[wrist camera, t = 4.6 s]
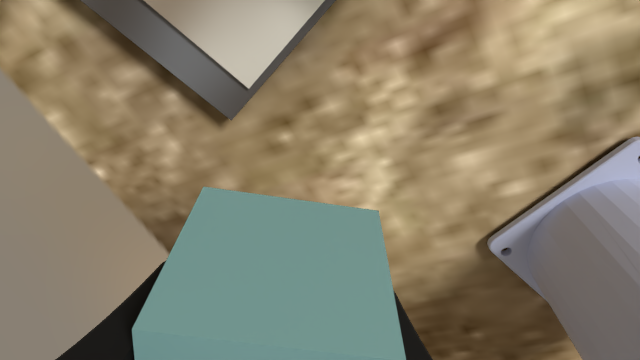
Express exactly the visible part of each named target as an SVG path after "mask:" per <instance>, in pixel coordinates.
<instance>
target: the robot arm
mask: <svg viewBox="0 0 640 360" xmlns="http://www.w3.org/2000/svg"><path fill="white" fill-rule="evenodd" d="M639 156H640V137H633V138H631V139H629V140H627V141H626V142H624V143H623V144H621V145H620V146H619V147H617V148H616V149H614V150H613V151H611V152H610V153H609V154H607V155H606V156H604V157H603V158H602V159H600V160H599V161H597V162H596V163H594V164H593V165H592V166H590V167H589V168H587V169H586V170H585V171H583V172H582V173H580V174H579V175H577V176H576V177H575V178H573V179H572V180H570V181H569V182H568V183H566V184H565V185H563V186H562V187H560V188H559V189H558V190H556V191H555V192H553V193H552V194H551V195H549V196H548V197H546V198H545V199H544V200H542V201H541V202H539V203H538V204H536V205H535V206H534V207H532V208H531V209H529V210H528V211H527V212H525V213H524V214H522V215H521V216H519V217H518V218H517V219H515V220H514V221H512V222H511V223H510V224H508V225H507V226H505V227H504V228H502V229H501V230H500V231H498V232H497V233H495V234H494V235H493V236H491V237H490V238H489V239H488V242H487V245H488V247H489V249H490V251H491V252H492V253H493V254H494V255H496V256H497V257H498V258H499V259H500V260H501V261H502V262H503V263H505V264H506V265H507V266H508V267H509V268H510V269H511V270H512V271H514V272H515V273H516V274H517V275H518V276H519V277H520V278H521V279H523V280H524V281H525V282H526V283H527V284H528V285H529V286H530V287H531V288H533V289H534V290H535V291H536V292H537V293H538V294H539V295H540V296H542V297H543V298H544V299H545V300H546V301H547V302H548V303H549V305H550V306H551V308H552V310H553V311H554V313H555V315H556V316H557V318H558V320H559V321H560V323H561V325H562V326H563V328H564V330H565V331H566V333H567V335H568V336H569V338H570V340H571V341H572V343H573V344H574V346H575V348H576V349H577V351H578V353H579V354H580V356H581V358H582V359H583V360H640V159H638V157H639ZM504 248H508V249H507V250H505V251H501V250H502V249H504ZM165 262H166V261H165ZM165 262H163V263H162V264H161V265H160V266H159V267H158V268H157V269H156V270H155V271H154V272H153V273H152V274H151V275H150V276H149V277H148V278H147V279H146V280H145V281H144V282H143V283H142V284H141V285H140V286H139V287H138V288H137V289H136V290H135V291H134V292H133V293H132V294H131V295H130V296H129V297H128V298H127V299H126V300H125V301H124V302H123V303H122V304H121V305H120V306H119V307H118V308H116V309H115V310H114V311H113V312H112V313H111V314H110V315H109V316H108V317H107V318H106V319H104V320H103V321H102V322H101V323H100V324H99V325H97V326H96V327H95V328H94V329H93V330H91V331H90V332H89V333H88V334H87V335H86V336H84V337H83V338H82V339H81V340H80V341H78V342H77V343H76V344H75V345H74V346H72V347H71V348H70V349H69V350H67V351H66V352H65V353H63V355H61V356H60V357H58V358H57V359H56V360H135V358H134V348H133V338H132V328H133V326H134V324H135V322H136V320H137V318H138V316H139V314H140V312H141V310H142V308H143V306H144V304H145V302H146V300H147V298H148V296H149V294H150V292H151V290H152V288H153V286H154V284H155V282H156V280H157V278H158V276H159V274H160V272H161V270H162V268H163V266H164V264H165ZM393 292H394V291H393ZM394 297H395V302H396V308H397V313H398V319H399V324H400V329H401V335H402V340H403V345H404V351H405V356H406V360H433V359H432V358H431V356H430V354H429V353H428V351H427V350H426V348H425V346H424V345H423V343H422V341H421V340H420V338H419V336H418V334H417V333H416V331H415V329H414V327H413V325H412V324H411V322H410V320H409V318H408V316H407V314H406V313H405V311H404V309H403V307H402V305H401V303H400V301H399V299H398V297H397V295H396V293H395V292H394Z"/></svg>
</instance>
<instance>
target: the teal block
mask: <svg viewBox="0 0 640 360" xmlns="http://www.w3.org/2000/svg"><path fill="white" fill-rule="evenodd" d="M132 338H133V348H134V358H135V360H406V356H405V351H404V345H403V340H402V335H401V329H400V324H399V319H398V313H397V308H396V302H395V297H394V292H393V286H392V281H391V276H390V270H389V265H388V260H387V254H386V249H385V243H384V238H383V233H382V227H381V222H380V217H379V211H376V210H369V209H361V208H354V207H347V206H340V205H332V204H325V203H318V202H311V201H303V200H296V199H289V198H282V197H274V196H267V195H260V194H253V193H245V192H238V191H231V190H224V189H216V188H209V187H203V189H202V191H201V193H200V195H199V197H198V199H197V201H196V203H195V205H194V207H193V209H192V211H191V213H190V215H189V217H188V219H187V221H186V223H185V225H184V227H183V229H182V231H181V233H180V235H179V236H178V238H177V240H176V242H175V244H174V246H173V248H172V250H171V252H170V254H169V256H168V258H167V260H166V262H165V264H164V266H163V268H162V270H161V272H160V274H159V276H158V278H157V280H156V282H155V284H154V286H153V288H152V290H151V292H150V294H149V296H148V298H147V300H146V302H145V304H144V306H143V308H142V310H141V312H140V314H139V316H138V318H137V320H136V322H135V324H134V326H133V328H132Z"/></svg>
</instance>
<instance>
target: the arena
mask: <svg viewBox="0 0 640 360" xmlns="http://www.w3.org/2000/svg"><path fill="white" fill-rule="evenodd" d="M81 1H82V2H83V3H85V4H86V5H87V6H88V7H90V8H91V9H92V10H93V11H95V12H96V13H97V14H98V15H100V16H101V17H102V18H103V19H105V20H106V21H107V22H108V23H110V24H111V25H112V26H113V27H115V28H116V29H117V30H118V31H120V32H121V33H122V34H123V35H125V36H126V37H127V38H128V39H130V40H131V41H132V42H133V43H135V44H136V45H137V46H138V47H140V48H141V49H142V50H143V51H145V52H146V53H147V54H148V55H150V56H151V57H152V58H154V59H155V60H156V61H157V62H159V63H160V64H161V65H162V66H164V67H165V68H166V69H167V70H169V71H170V72H171V73H172V74H174V75H175V76H176V77H177V78H179V79H180V80H181V81H182V82H184V83H185V84H186V85H187V86H189V87H190V88H191V89H192V90H194V91H195V92H196V93H197V94H199V95H200V96H201V97H202V98H204V99H205V100H206V101H207V102H209V103H210V104H211V105H212V106H214V107H215V108H216V109H217V110H219V111H220V112H221V113H222V114H224V115H225V116H226V117H228V118H229V119H230V120H232V119H233V118H234V117H235V116H236V115H237V113H238V112H239V111H240V110H241V109H242V108H243V106H244V105H245V104H246V103H247V102H248V101H249V100H250V98H251V97H252V96H253V95H254V94H255V93H256V92H257V90H258V89H259V88H260V87H261V86H262V85H263V83H264V82H265V81H266V80H267V79H268V78H269V77H270V75H271V74H272V73H273V72H274V71H275V70H276V69H277V67H278V66H279V65H280V64H281V63H282V62H283V60H284V59H285V58H286V57H287V56H288V55H289V54H290V52H291V51H292V50H293V49H294V48H295V47H296V46H297V44H298V43H299V42H300V41H301V40H302V39H303V38H304V36H305V35H306V34H307V33H308V32H309V31H310V29H311V28H312V27H313V26H314V25H315V24H316V23H317V21H318V20H319V19H320V18H321V17H322V16H323V15H324V13H325V12H326V11H327V10H328V9H329V8H330V6H331V5H332V4H333V3H334V2H335V1H336V0H81Z"/></svg>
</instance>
